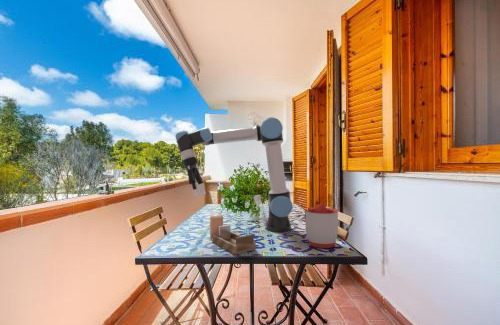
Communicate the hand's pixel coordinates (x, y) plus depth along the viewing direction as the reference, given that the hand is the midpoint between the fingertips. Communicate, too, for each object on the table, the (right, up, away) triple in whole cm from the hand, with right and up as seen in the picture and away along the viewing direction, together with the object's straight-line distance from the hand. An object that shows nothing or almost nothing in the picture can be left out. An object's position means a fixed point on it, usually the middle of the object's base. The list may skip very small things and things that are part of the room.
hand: (200, 195), depth 138 cm
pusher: (+14, -21, -9) cm, 27 cm away
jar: (+9, -23, -2) cm, 24 cm away
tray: (+19, -22, -16) cm, 33 cm away
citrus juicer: (+61, -22, -15) cm, 66 cm away
